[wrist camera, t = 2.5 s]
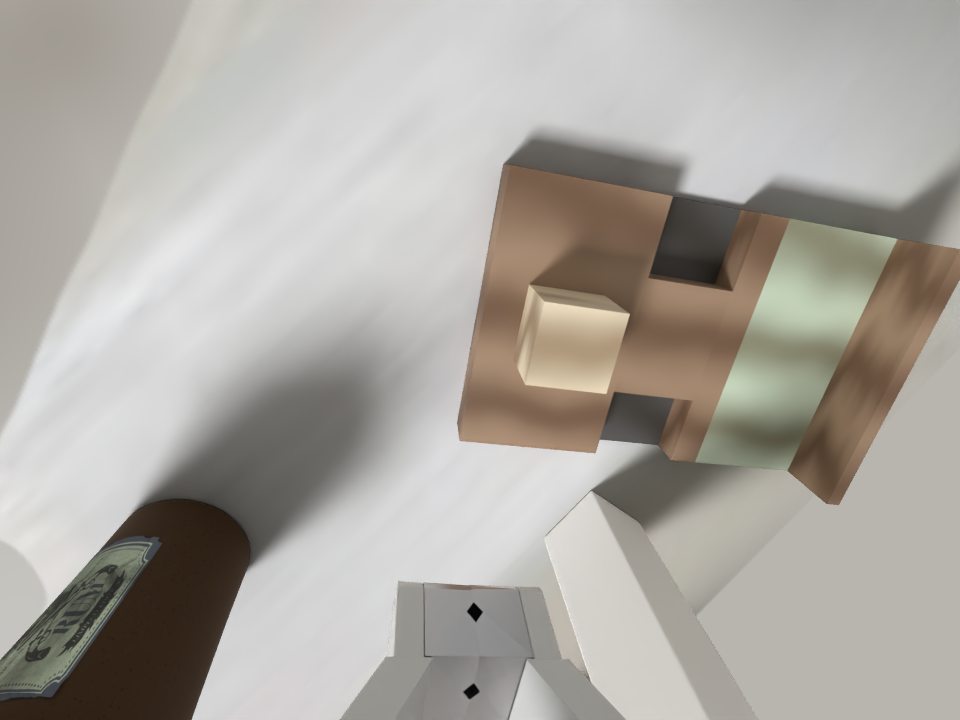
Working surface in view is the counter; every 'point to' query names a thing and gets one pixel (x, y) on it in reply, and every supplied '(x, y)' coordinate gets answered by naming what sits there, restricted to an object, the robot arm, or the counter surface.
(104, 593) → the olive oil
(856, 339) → the board
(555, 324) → the block
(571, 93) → the counter surface
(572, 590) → the milk
